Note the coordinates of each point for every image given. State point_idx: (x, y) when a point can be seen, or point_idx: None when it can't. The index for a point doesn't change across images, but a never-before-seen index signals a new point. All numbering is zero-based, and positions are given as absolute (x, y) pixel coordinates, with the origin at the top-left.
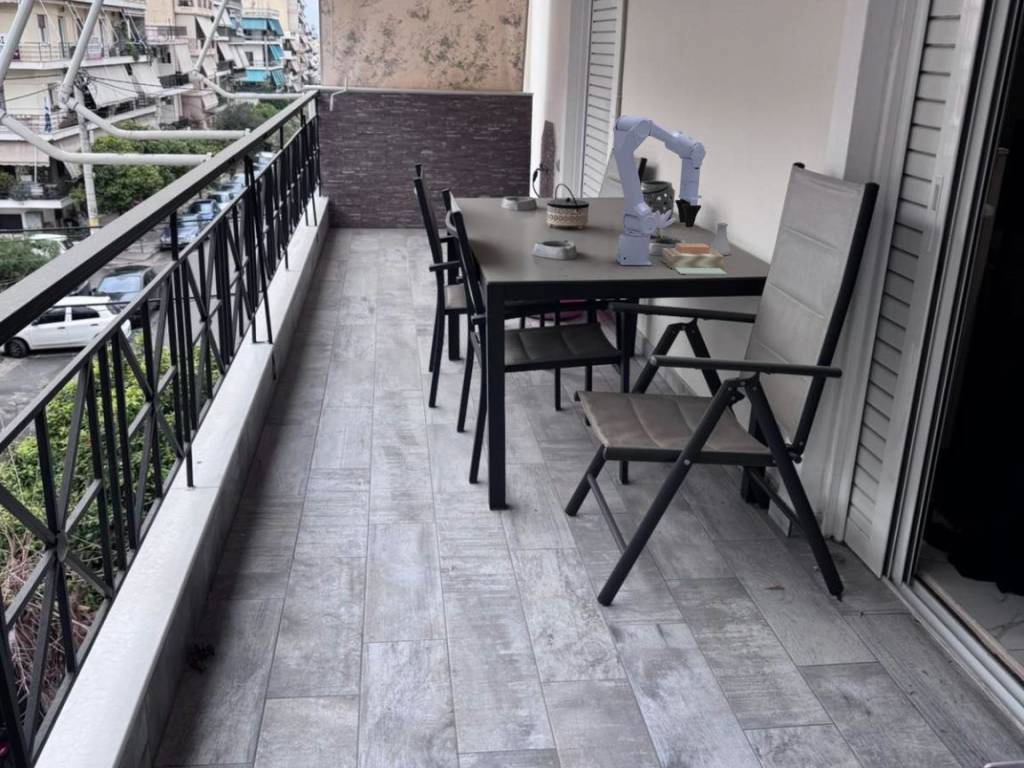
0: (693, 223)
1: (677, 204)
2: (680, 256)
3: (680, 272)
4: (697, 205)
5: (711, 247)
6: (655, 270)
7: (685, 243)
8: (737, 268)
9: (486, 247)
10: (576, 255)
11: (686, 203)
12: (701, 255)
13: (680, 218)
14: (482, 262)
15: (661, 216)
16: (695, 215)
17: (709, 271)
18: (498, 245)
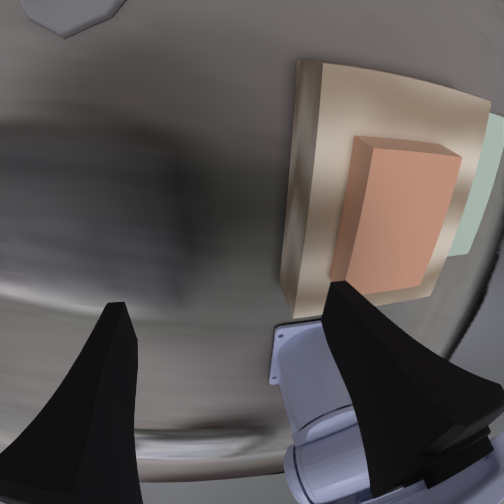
0: (365, 301)
1: (141, 499)
2: (440, 270)
3: (464, 253)
4: (468, 434)
5: (68, 18)
6: (407, 304)
7: (359, 258)
8: (437, 13)
9: (175, 479)
10: (216, 428)
11: (111, 491)
12: (458, 193)
13: (136, 371)
14: (282, 470)
15: None
16: (420, 352)
17: (482, 164)
18: (153, 475)
